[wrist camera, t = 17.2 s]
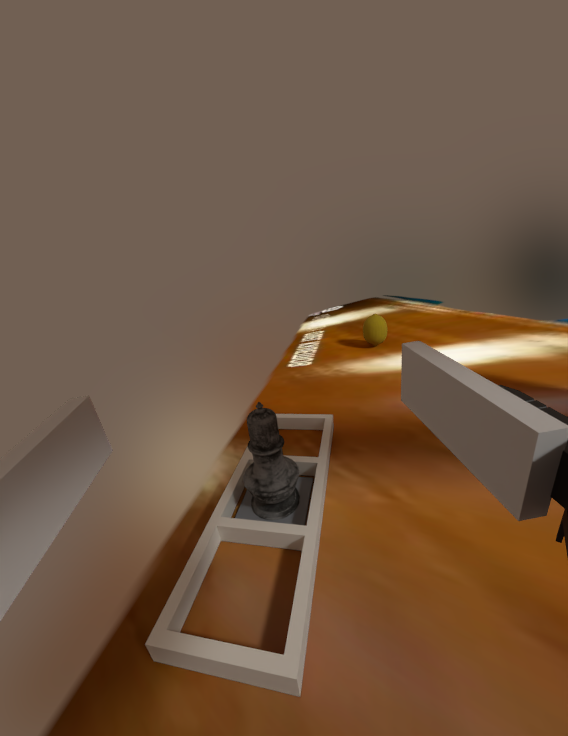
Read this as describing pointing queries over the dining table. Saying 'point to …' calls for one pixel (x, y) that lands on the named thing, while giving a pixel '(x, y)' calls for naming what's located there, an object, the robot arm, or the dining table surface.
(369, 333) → the lemon
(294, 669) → the pocket rack
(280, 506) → the dark chess piece
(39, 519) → the robot arm
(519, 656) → the dining table surface
